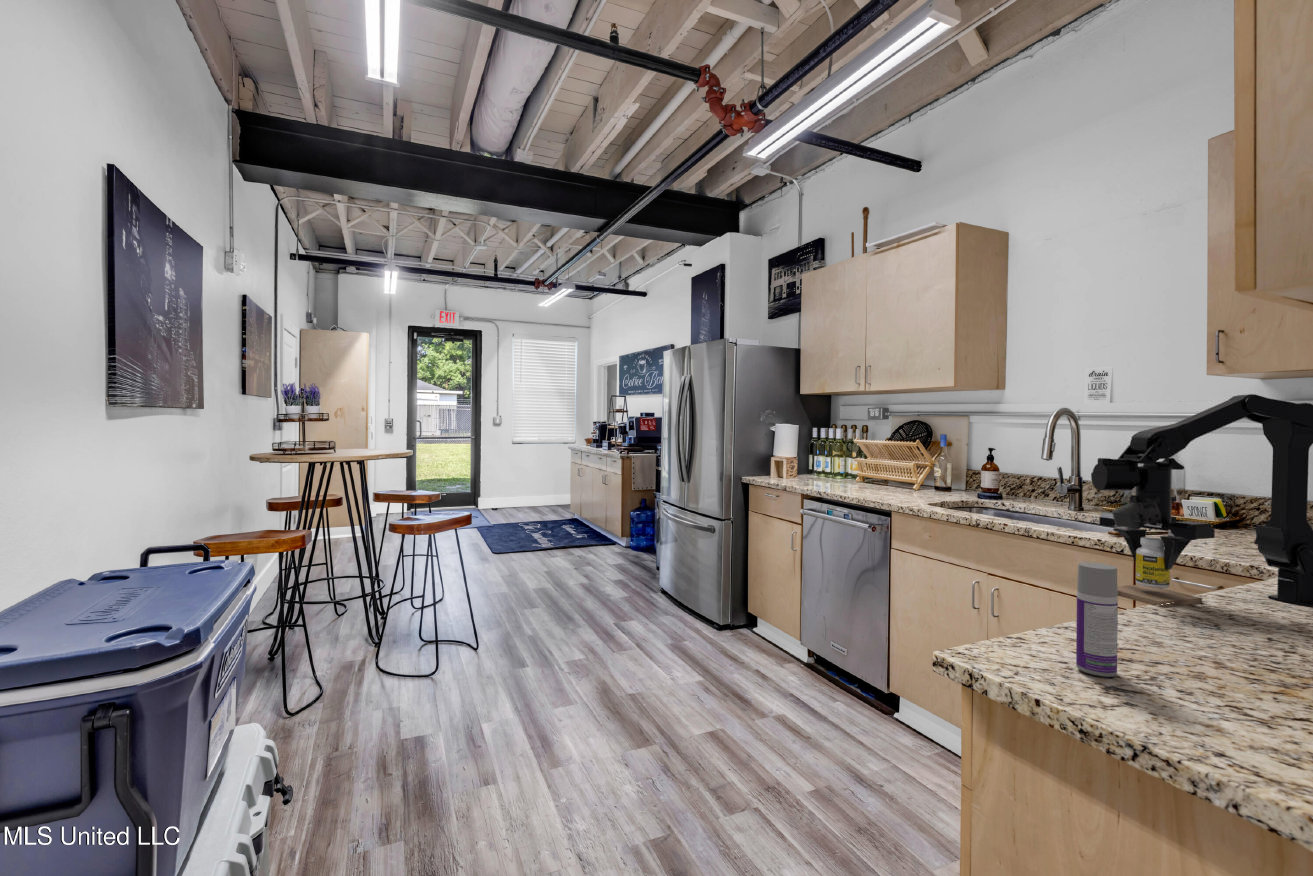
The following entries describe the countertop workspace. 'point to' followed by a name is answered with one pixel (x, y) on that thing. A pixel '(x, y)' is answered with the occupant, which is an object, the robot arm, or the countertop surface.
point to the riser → (1156, 596)
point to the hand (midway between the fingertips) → (1152, 566)
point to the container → (1097, 619)
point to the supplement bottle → (1151, 564)
